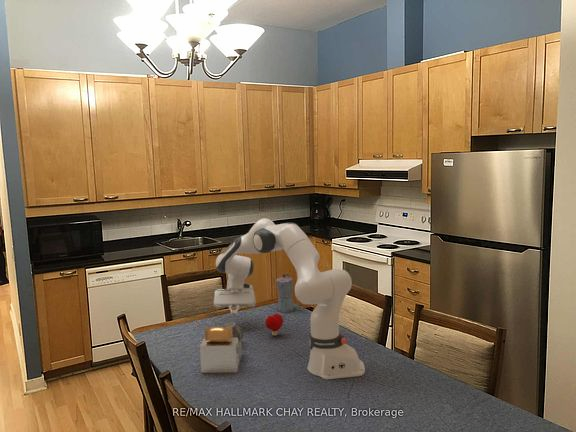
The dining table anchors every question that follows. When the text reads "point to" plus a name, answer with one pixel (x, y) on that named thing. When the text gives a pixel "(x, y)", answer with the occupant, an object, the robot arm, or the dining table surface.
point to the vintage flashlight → (235, 330)
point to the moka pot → (285, 294)
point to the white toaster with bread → (220, 350)
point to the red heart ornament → (274, 323)
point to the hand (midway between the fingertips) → (233, 314)
